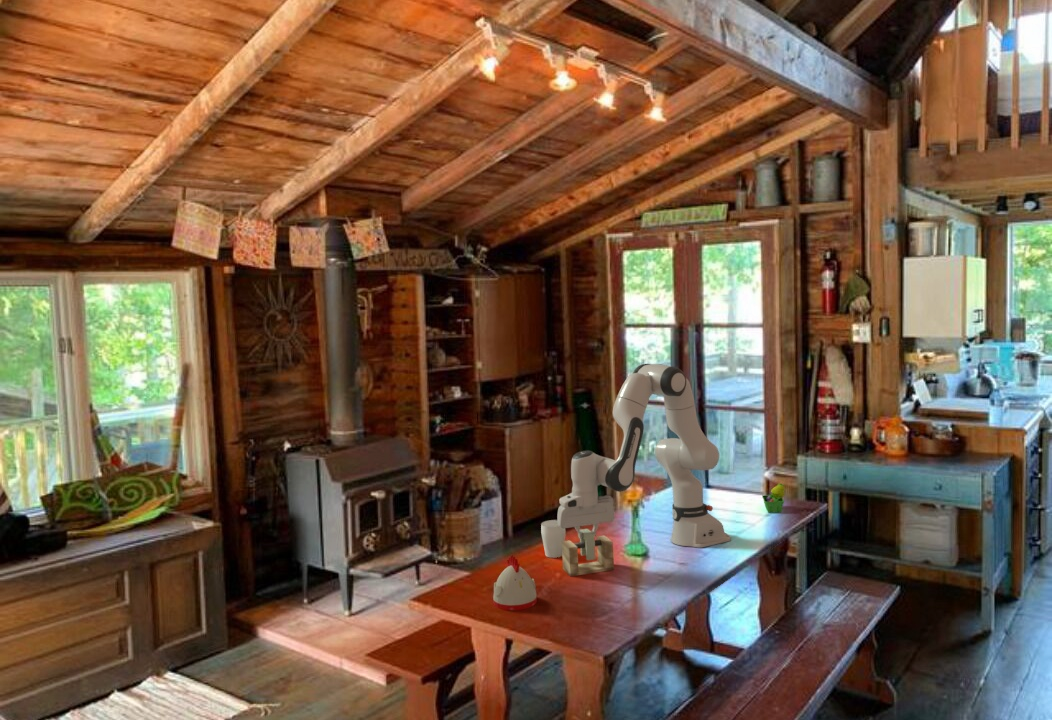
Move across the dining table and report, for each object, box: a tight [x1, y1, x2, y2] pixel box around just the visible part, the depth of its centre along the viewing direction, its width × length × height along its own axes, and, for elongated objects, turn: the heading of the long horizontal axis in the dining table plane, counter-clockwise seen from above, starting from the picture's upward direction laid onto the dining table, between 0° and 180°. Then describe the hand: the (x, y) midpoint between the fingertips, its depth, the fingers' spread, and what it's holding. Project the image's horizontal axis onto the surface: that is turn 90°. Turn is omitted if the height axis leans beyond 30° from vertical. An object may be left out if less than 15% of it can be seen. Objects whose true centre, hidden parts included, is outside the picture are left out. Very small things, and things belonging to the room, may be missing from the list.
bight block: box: [579, 528, 597, 562], centre depth 298 cm, size 3×7×9 cm, turn 16°
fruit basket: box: [762, 483, 786, 514], centre depth 360 cm, size 11×9×11 cm
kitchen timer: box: [492, 554, 538, 611], centre depth 271 cm, size 14×14×15 cm
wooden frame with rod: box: [561, 535, 615, 577], centre depth 298 cm, size 16×8×10 cm, turn 106°
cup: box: [540, 519, 566, 559], centre depth 316 cm, size 9×9×12 cm
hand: (587, 537), depth 298 cm, fingers closed on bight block, 3 cm apart
